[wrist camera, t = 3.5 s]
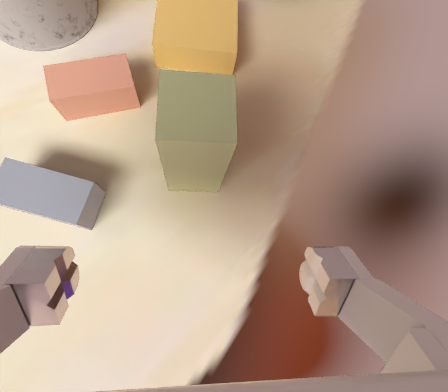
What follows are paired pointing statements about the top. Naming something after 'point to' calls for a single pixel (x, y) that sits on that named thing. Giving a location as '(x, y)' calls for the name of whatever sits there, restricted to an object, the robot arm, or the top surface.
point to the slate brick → (49, 194)
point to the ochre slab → (196, 35)
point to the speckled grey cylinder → (45, 22)
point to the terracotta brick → (91, 87)
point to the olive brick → (196, 128)
